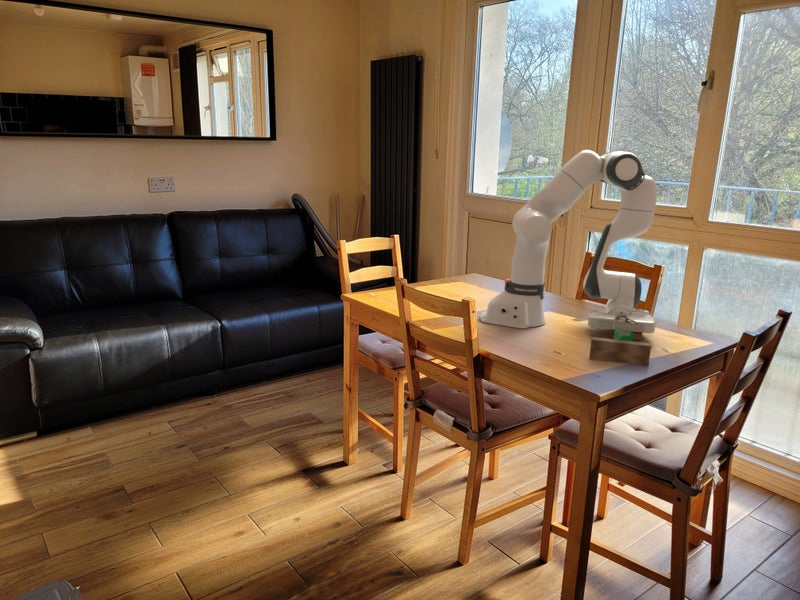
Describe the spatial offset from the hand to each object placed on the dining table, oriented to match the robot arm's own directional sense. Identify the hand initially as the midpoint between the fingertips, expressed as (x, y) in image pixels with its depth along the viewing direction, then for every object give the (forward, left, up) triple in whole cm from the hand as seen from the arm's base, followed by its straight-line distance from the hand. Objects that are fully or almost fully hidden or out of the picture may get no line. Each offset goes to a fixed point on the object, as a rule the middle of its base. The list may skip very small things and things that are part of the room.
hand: (621, 329), depth 186 cm
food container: (0, -6, -5) cm, 8 cm away
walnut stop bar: (-1, -15, -5) cm, 16 cm away
